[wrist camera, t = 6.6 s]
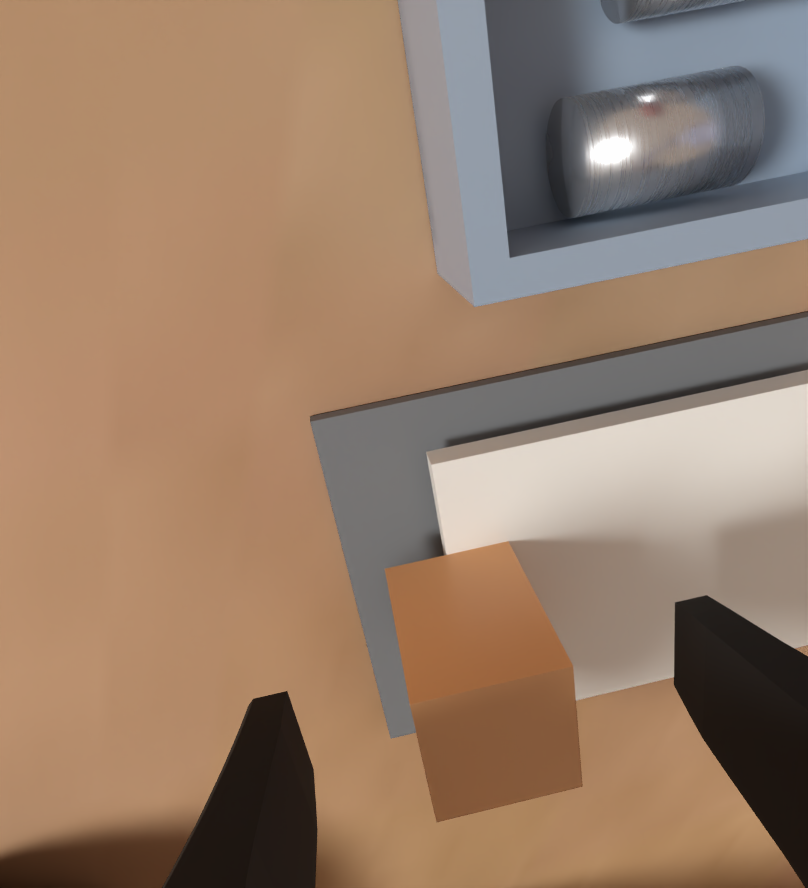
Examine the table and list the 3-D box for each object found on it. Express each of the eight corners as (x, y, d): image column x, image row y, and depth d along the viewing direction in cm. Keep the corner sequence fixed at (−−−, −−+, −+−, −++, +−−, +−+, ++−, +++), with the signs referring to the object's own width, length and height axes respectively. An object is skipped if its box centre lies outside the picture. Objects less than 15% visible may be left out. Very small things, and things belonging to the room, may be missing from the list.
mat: (910, 290, 14) (922, 292, 14) (856, 617, 18) (865, 625, 17) (310, 416, 13) (310, 421, 13) (389, 729, 17) (390, 738, 17)
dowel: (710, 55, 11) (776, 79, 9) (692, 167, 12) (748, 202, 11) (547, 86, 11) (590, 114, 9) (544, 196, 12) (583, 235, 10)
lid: (815, 357, 14) (1041, 447, 10) (788, 613, 17) (951, 769, 12) (360, 455, 13) (384, 595, 9) (415, 701, 16) (453, 895, 12)
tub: (880, -243, 10) (1093, -391, 7) (833, 193, 13) (977, 204, 10) (374, -159, 10) (401, -284, 7) (437, 273, 12) (474, 306, 10)
